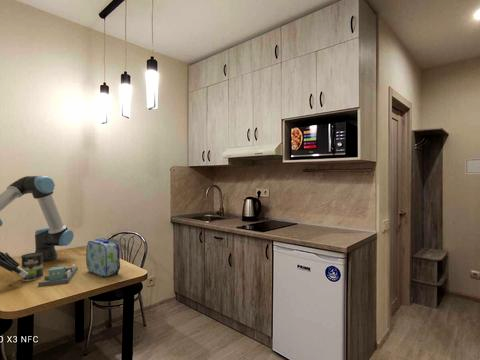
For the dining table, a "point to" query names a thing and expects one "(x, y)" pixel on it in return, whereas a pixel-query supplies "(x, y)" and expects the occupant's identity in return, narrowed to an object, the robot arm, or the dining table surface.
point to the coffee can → (32, 266)
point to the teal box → (57, 273)
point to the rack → (68, 277)
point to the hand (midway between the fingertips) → (26, 275)
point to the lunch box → (103, 257)
